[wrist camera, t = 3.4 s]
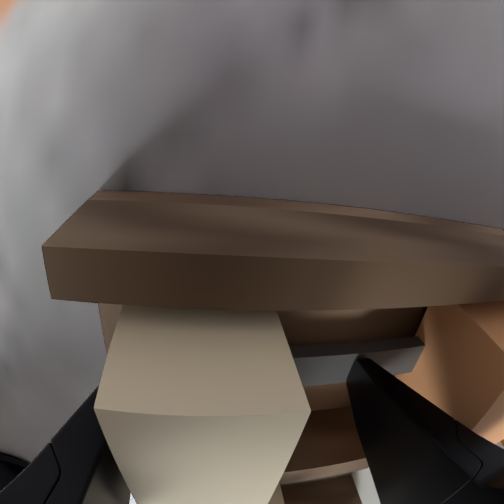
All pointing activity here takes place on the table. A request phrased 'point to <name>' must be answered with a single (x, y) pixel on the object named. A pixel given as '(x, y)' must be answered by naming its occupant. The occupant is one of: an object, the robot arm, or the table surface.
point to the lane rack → (279, 285)
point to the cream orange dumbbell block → (267, 392)
